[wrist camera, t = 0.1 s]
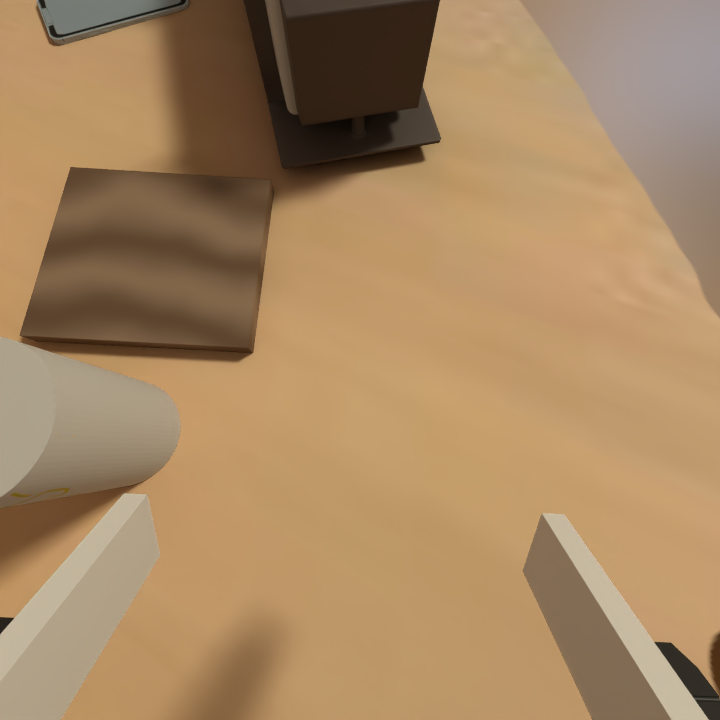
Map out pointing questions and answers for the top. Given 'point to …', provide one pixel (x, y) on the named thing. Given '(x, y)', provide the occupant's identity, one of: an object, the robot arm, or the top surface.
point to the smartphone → (99, 16)
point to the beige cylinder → (76, 427)
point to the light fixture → (344, 75)
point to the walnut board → (153, 261)
